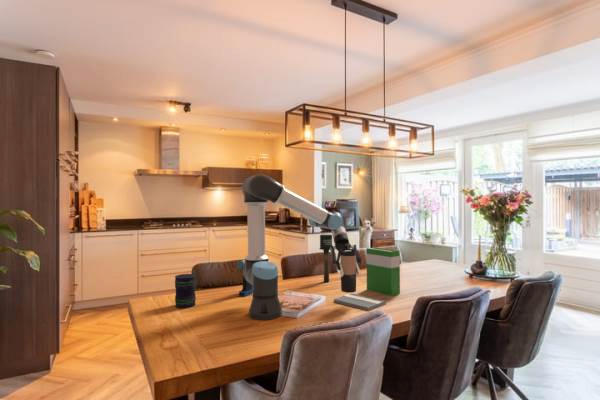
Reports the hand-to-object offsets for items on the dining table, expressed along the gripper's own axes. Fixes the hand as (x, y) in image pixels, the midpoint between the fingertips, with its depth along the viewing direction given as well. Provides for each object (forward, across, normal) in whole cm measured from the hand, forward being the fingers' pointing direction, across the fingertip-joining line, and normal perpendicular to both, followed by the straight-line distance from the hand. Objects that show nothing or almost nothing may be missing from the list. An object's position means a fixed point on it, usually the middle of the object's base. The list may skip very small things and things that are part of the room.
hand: (350, 274), depth 169 cm
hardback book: (-7, -28, -31) cm, 42 cm away
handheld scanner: (-15, +48, -39) cm, 63 cm away
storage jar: (-4, +79, -28) cm, 84 cm away
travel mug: (+4, 0, -9) cm, 9 cm away
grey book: (+6, -7, -18) cm, 20 cm away
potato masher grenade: (-28, -3, -52) cm, 59 cm away
